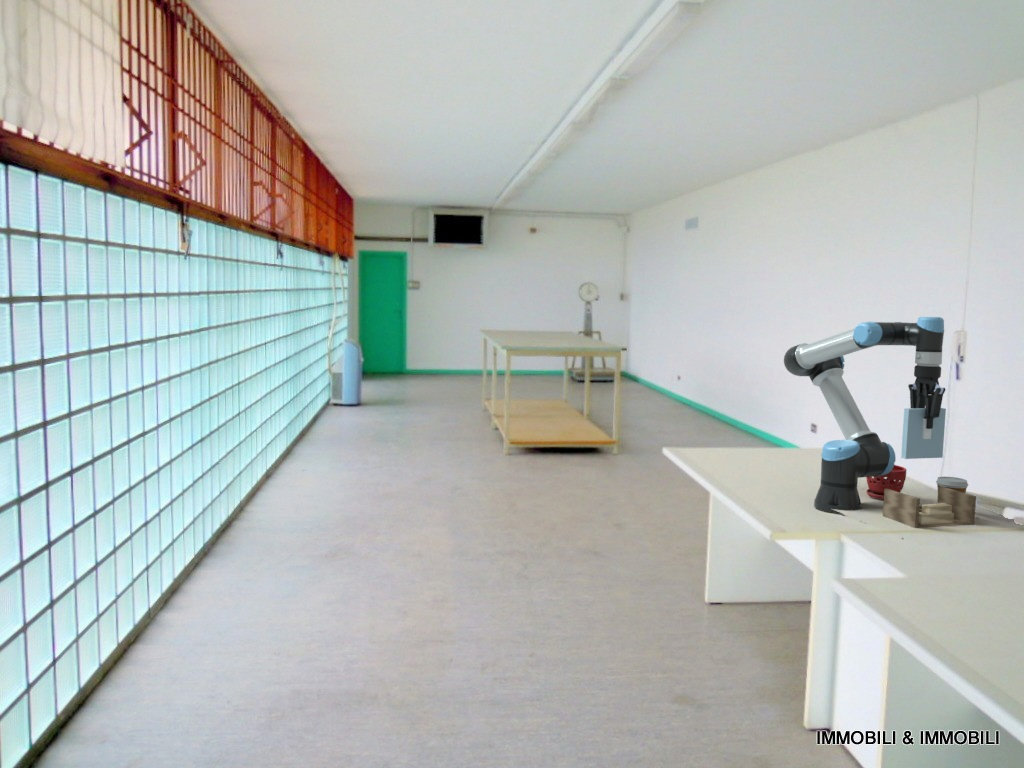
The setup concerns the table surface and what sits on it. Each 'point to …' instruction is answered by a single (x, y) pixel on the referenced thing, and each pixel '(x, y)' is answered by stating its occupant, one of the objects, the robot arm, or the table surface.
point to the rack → (909, 507)
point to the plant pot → (886, 482)
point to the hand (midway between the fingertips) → (923, 437)
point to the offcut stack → (936, 514)
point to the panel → (913, 435)
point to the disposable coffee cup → (952, 483)
